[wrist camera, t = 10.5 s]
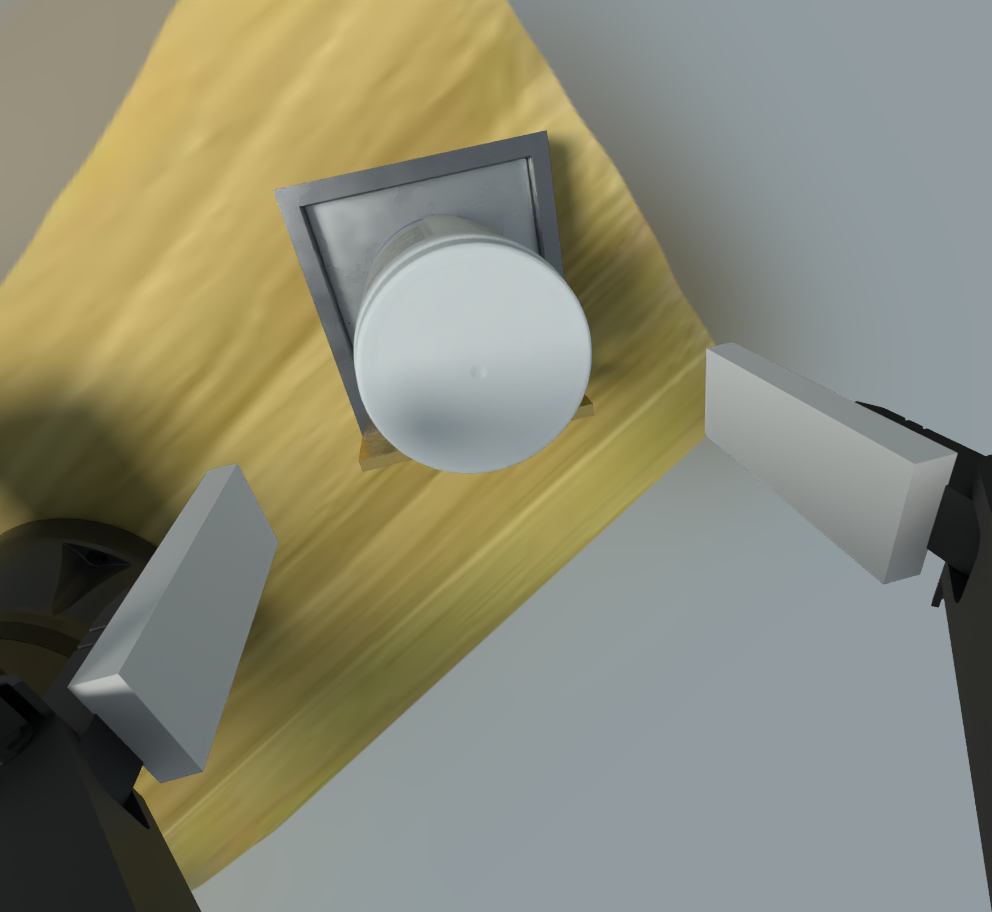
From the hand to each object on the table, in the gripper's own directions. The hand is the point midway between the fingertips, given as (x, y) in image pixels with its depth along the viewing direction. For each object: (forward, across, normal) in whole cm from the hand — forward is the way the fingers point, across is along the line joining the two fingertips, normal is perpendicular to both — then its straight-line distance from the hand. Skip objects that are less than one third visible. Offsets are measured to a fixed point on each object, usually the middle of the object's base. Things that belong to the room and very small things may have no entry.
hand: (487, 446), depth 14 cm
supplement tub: (+21, 0, 0) cm, 21 cm away
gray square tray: (+24, 0, 0) cm, 24 cm away
